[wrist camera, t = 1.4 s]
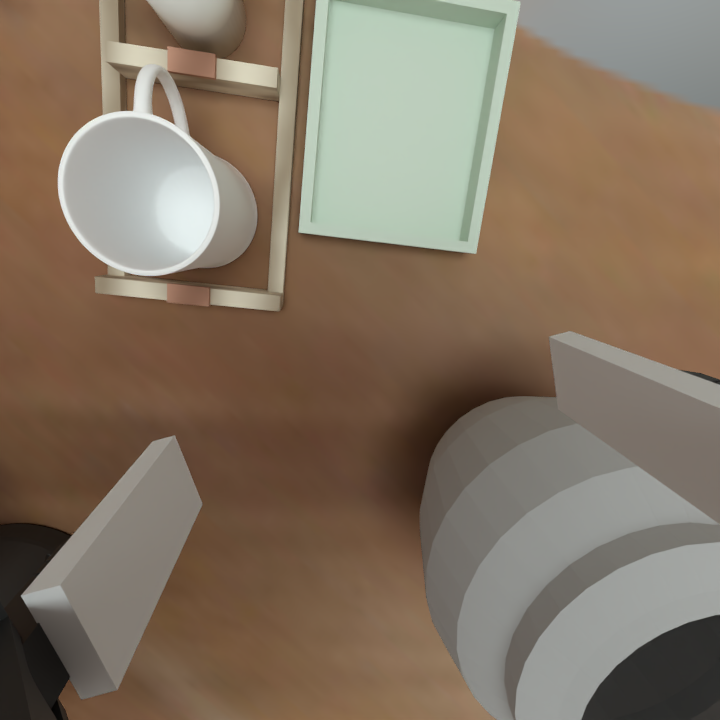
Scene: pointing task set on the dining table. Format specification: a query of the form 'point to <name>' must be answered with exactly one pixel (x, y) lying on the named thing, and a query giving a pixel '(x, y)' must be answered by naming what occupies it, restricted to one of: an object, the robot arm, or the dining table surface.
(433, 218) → the tray
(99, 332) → the dining table surface
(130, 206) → the mug
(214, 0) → the white capsule
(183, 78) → the caddy
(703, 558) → the vase
